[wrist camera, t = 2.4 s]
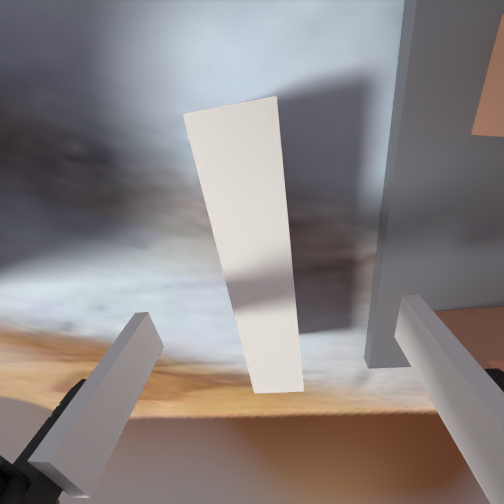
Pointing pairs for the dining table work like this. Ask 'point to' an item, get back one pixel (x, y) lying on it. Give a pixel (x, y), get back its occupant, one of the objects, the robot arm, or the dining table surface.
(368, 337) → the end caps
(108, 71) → the dining table surface
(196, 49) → the dining table surface
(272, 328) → the slat
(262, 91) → the dining table surface
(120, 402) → the robot arm
